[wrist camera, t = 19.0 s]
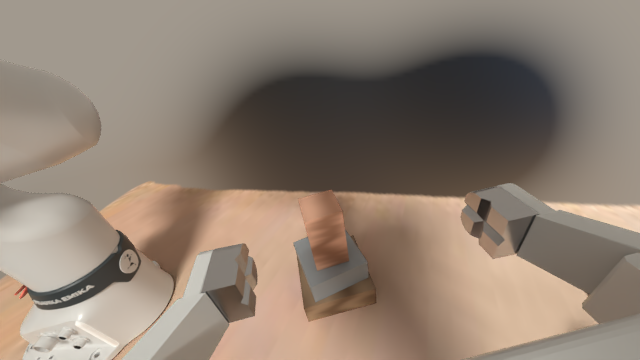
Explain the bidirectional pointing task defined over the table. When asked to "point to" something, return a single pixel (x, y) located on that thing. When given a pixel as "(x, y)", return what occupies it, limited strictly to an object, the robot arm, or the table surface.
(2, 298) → the table surface
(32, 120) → the robot arm
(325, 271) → the grey top block
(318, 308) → the walnut base block
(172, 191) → the table surface
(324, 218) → the terracotta block
